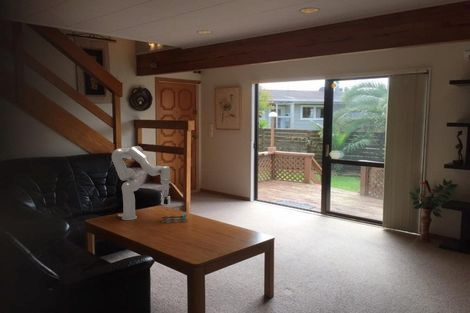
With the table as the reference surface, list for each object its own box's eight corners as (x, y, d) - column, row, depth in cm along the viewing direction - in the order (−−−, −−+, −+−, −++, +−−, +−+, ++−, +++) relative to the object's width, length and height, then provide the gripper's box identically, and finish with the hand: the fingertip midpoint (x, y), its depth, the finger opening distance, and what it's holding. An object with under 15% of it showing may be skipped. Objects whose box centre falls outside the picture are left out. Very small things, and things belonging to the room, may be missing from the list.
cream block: (161, 204, 315) (161, 197, 315) (161, 203, 320) (161, 196, 319) (170, 204, 316) (170, 197, 316) (170, 203, 321) (170, 196, 320)
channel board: (161, 223, 313) (161, 216, 312) (161, 219, 325) (161, 213, 324) (186, 222, 316) (186, 215, 316) (185, 218, 328) (185, 212, 328)
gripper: (160, 180, 324) (161, 201, 326) (160, 183, 307) (161, 205, 309) (169, 179, 325) (170, 201, 327) (170, 182, 309) (170, 205, 310)
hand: (165, 203), depth 318 cm, fingers closed on cream block, 4 cm apart
